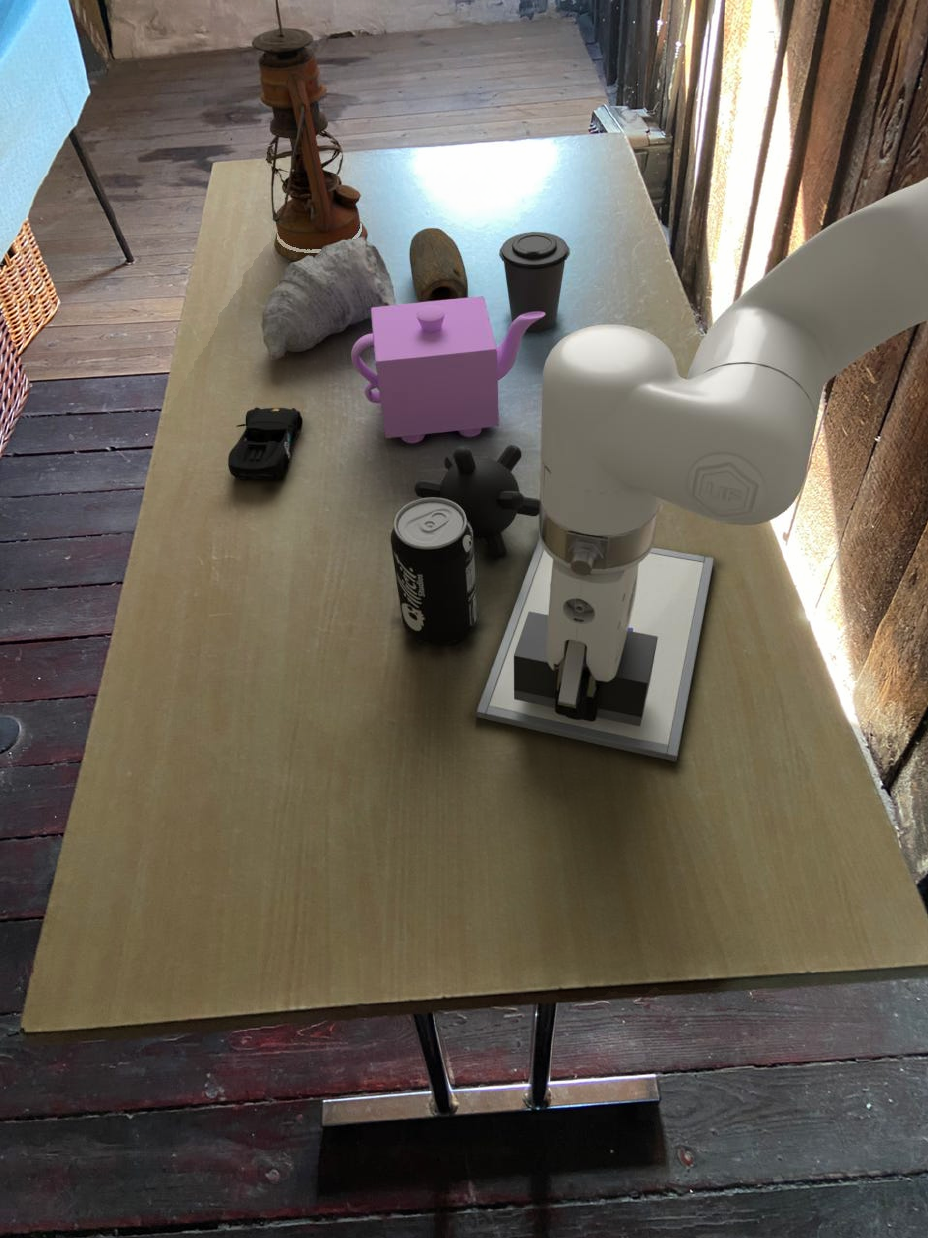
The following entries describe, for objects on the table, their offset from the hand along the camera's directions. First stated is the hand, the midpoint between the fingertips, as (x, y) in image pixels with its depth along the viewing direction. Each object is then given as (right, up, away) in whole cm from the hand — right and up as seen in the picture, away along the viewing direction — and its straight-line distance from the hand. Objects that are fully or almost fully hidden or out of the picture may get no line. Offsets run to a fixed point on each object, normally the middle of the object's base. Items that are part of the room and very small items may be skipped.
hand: (583, 686), depth 74 cm
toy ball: (-8, +14, +16) cm, 23 cm away
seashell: (-25, +40, +40) cm, 62 cm away
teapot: (-11, +28, +29) cm, 41 cm away
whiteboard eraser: (0, 0, 0) cm, 0 cm away
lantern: (-29, +58, +57) cm, 86 cm away
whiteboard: (+2, +4, +7) cm, 8 cm away
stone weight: (-12, +46, +45) cm, 66 cm away
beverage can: (-12, +5, +9) cm, 15 cm away
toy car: (-30, +23, +26) cm, 46 cm away
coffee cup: (-1, +41, +40) cm, 58 cm away
